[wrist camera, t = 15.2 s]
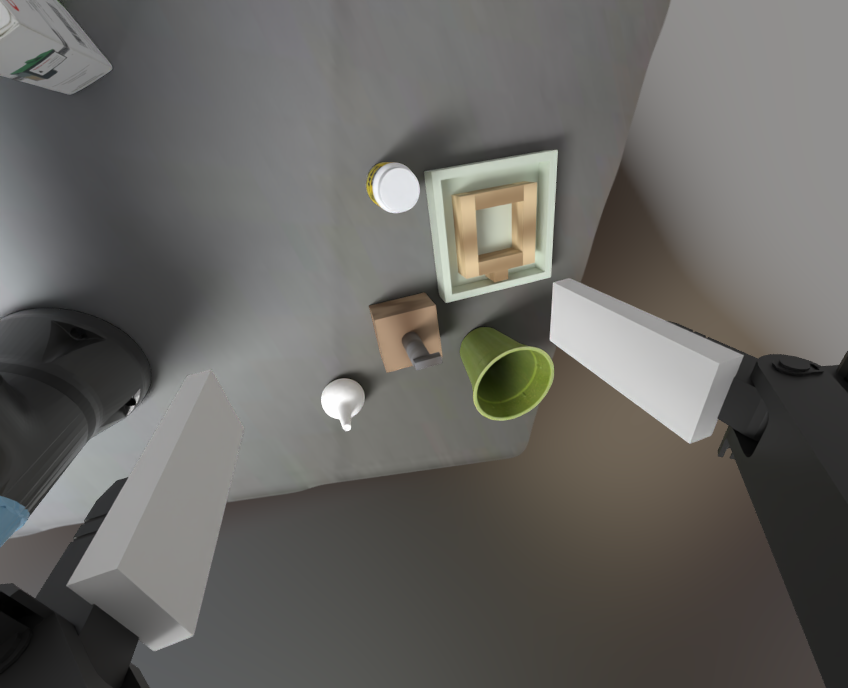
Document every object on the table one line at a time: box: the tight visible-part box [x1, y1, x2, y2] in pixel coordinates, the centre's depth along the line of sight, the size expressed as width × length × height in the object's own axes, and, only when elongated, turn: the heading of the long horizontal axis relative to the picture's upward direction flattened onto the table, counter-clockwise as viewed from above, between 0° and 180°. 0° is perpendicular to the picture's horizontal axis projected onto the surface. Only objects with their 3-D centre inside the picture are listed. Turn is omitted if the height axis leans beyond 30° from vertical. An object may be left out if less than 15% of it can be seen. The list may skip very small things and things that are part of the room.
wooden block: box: [369, 292, 442, 373], centre depth 44 cm, size 8×8×11 cm
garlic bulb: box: [321, 378, 365, 431], centre depth 48 cm, size 6×6×8 cm
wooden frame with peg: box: [451, 181, 537, 282], centre depth 44 cm, size 11×10×3 cm
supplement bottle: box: [366, 162, 420, 213], centre depth 36 cm, size 5×5×8 cm
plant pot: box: [460, 327, 554, 421], centre depth 50 cm, size 12×12×11 cm
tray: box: [424, 150, 558, 303], centre depth 44 cm, size 16×16×3 cm
